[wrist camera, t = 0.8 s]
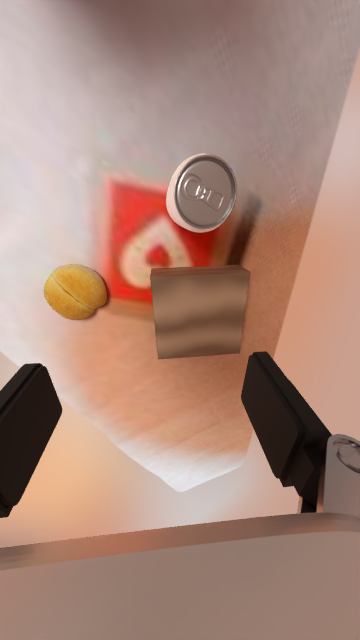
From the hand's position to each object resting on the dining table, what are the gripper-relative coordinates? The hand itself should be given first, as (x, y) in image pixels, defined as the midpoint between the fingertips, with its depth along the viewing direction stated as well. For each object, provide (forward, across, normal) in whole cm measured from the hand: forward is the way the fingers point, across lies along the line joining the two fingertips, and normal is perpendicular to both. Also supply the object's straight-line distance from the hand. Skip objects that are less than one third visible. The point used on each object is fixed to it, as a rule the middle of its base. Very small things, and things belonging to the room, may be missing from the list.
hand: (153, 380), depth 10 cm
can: (+26, -5, -8) cm, 27 cm away
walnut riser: (+25, -6, +8) cm, 27 cm away
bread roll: (+26, +13, +4) cm, 29 cm away
